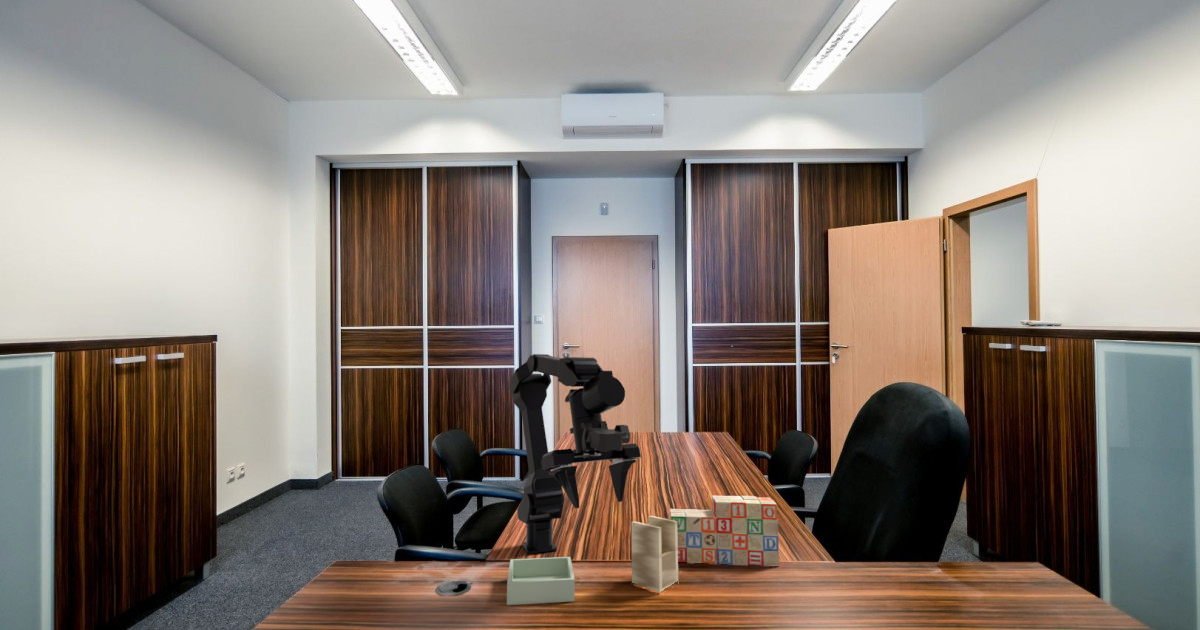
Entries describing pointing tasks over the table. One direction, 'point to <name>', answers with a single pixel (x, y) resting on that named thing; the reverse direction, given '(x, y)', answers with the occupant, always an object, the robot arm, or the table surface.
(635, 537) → the small magazine holder
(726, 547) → the stack of blocks
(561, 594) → the box
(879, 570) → the table surface
